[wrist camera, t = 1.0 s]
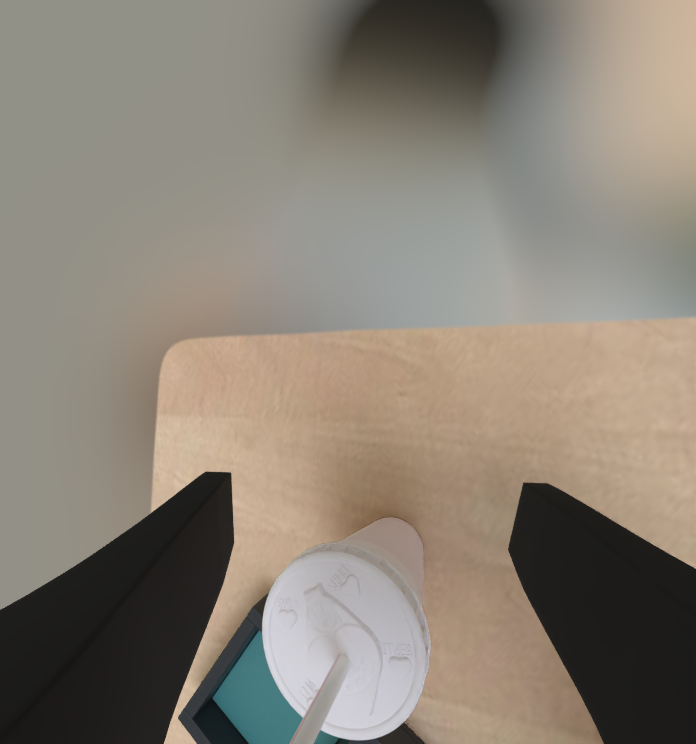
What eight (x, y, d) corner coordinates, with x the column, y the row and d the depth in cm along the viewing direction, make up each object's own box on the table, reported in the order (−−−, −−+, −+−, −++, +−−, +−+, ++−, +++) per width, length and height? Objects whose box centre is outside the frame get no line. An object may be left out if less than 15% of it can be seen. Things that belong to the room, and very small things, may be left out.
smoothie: (375, 622, 22) (233, 927, 9) (324, 522, 24) (143, 661, 11) (469, 578, 21) (462, 863, 8) (410, 475, 23) (319, 568, 9)
